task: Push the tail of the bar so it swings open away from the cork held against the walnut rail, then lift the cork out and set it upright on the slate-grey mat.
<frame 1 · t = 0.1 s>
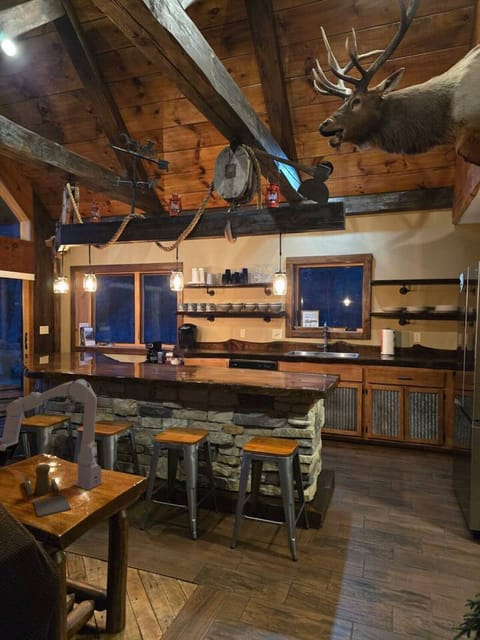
hand: (5, 462, 166), 11 cm above the table, tool pointing down, fingers open, 7 cm apart
mat: (51, 505, 152), on the table
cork: (42, 493, 163), on the table
rail: (54, 490, 166), on the table
bar: (28, 486, 164), point 2 cm above the table, hinge at 0.0°
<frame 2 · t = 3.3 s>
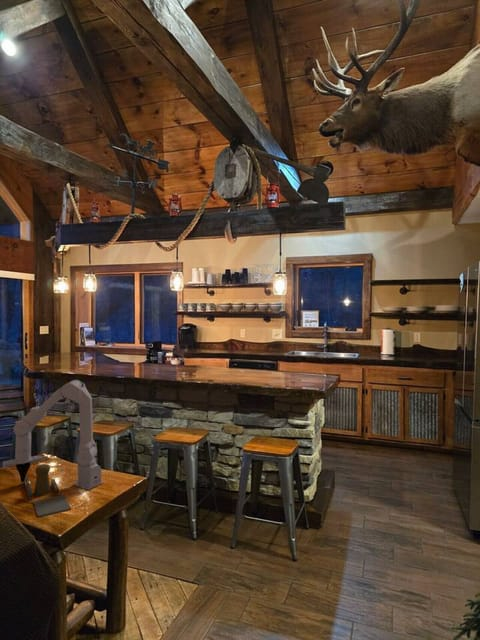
hand: (22, 481, 170), 1 cm above the table, tool pointing down, fingers closed, pressing on bar
bar: (28, 486, 164), point 2 cm above the table, hinge at 0.0°, touching gripper
everything else where it was.
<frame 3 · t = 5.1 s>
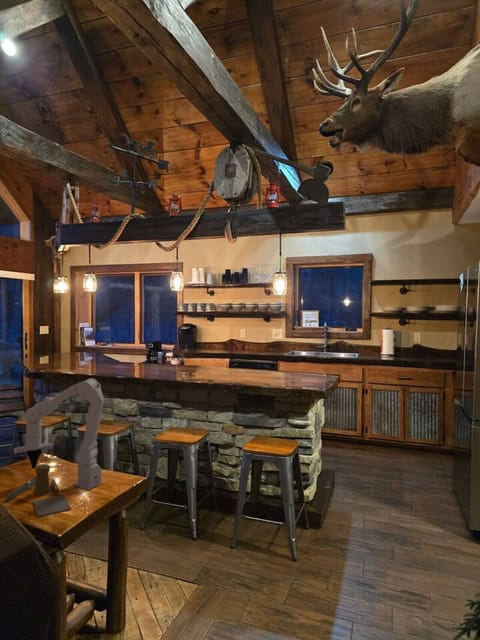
hand: (33, 467, 172), 6 cm above the table, tool pointing down, fingers closed
bar: (23, 487, 164), point 2 cm above the table, hinge at 39.9°
everything else where it was.
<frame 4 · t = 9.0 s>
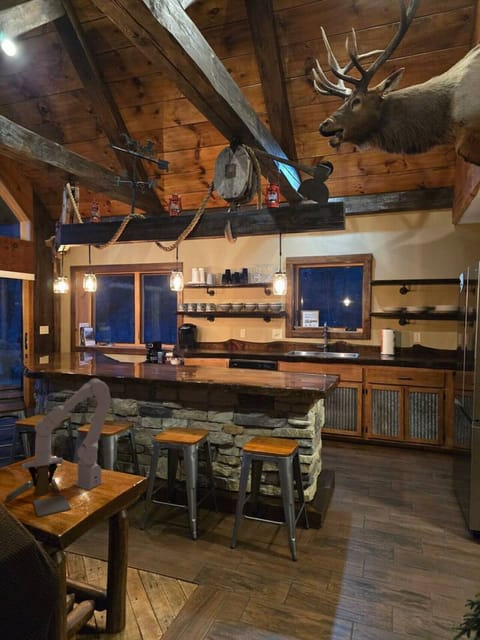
hand: (42, 484, 163), 3 cm above the table, tool pointing down, fingers closed on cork, 5 cm apart
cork: (42, 493, 163), on the table, touching gripper
everything else where it was.
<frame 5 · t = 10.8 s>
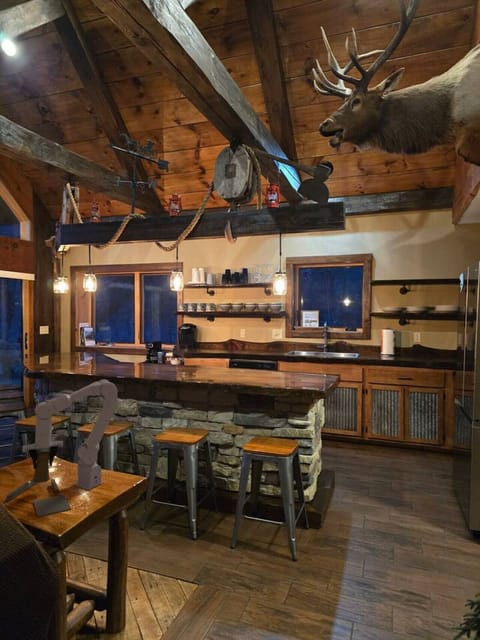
hand: (42, 466, 163), 10 cm above the table, tool pointing down, fingers closed on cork, 5 cm apart
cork: (41, 480, 163), point 5 cm above the table, touching gripper
everything else where it was.
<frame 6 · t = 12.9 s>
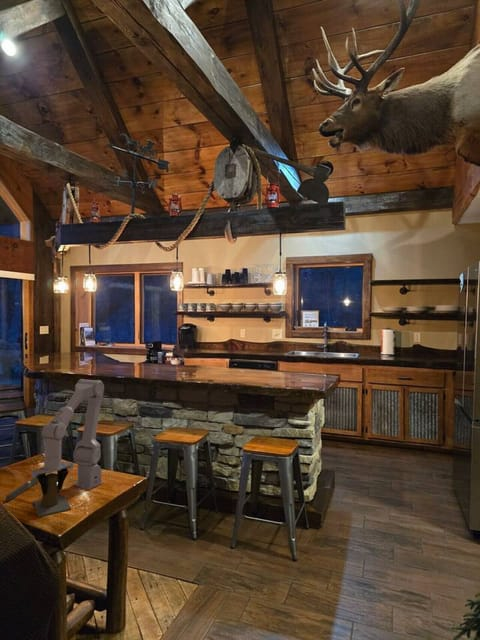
hand: (52, 491, 152), 5 cm above the table, tool pointing down, fingers closed on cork, 5 cm apart
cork: (49, 503, 153), resting on mat, touching gripper
everything else where it was.
when the fingers open (5 cm above the table, at t = 13.4 s): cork stays where it is, resting on mat.
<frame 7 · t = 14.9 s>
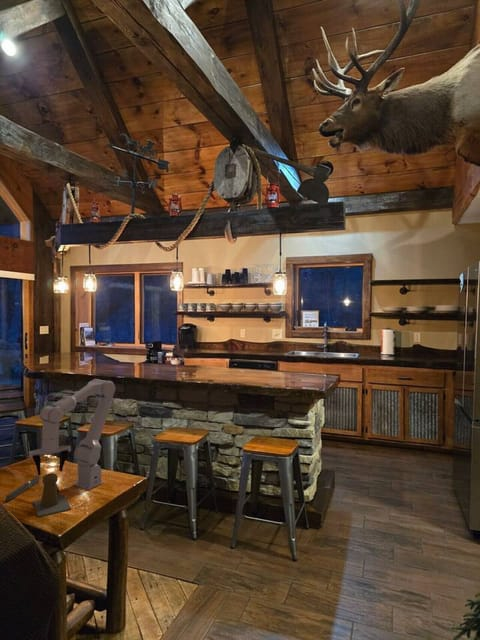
hand: (50, 472, 157), 10 cm above the table, tool pointing down, fingers open, 7 cm apart
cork: (49, 504, 153), resting on mat
everything else where it was.
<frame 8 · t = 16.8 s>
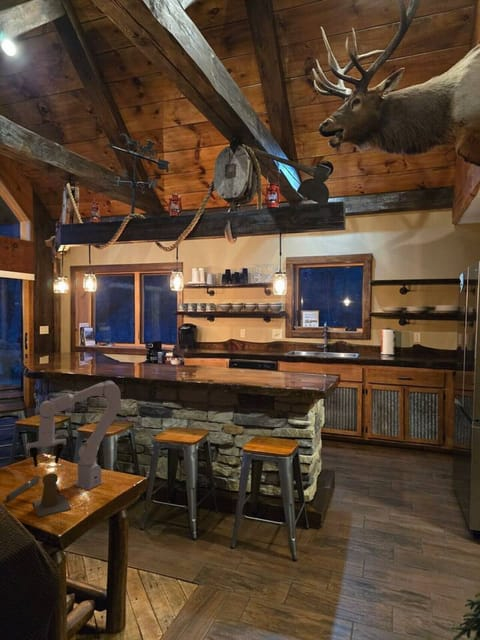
hand: (46, 464, 165), 10 cm above the table, tool pointing down, fingers open, 7 cm apart
nothing on the table moved.
at the end: bar at +40° (first picture: +0°); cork inside the target area on the mat (1.3 cm from its centre), point 0.3 cm above the mat's base; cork tilted 0° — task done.
